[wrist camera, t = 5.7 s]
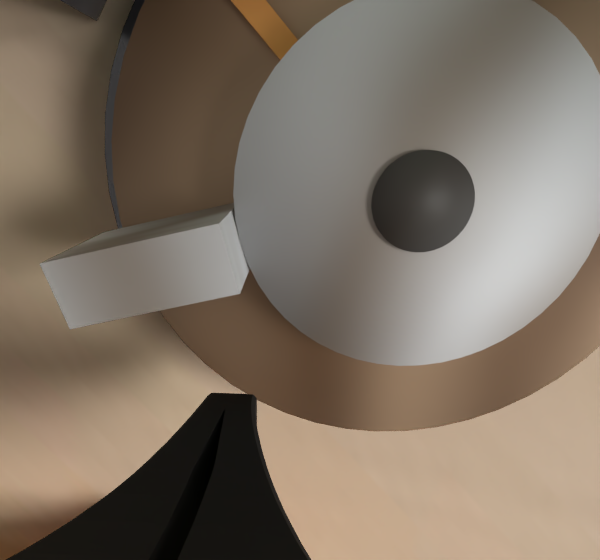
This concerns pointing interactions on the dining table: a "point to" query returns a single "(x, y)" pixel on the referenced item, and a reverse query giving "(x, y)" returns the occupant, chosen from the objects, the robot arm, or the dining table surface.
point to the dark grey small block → (87, 6)
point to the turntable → (357, 200)
